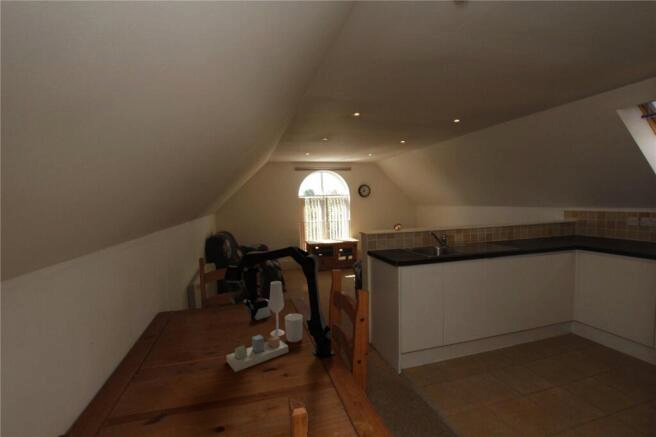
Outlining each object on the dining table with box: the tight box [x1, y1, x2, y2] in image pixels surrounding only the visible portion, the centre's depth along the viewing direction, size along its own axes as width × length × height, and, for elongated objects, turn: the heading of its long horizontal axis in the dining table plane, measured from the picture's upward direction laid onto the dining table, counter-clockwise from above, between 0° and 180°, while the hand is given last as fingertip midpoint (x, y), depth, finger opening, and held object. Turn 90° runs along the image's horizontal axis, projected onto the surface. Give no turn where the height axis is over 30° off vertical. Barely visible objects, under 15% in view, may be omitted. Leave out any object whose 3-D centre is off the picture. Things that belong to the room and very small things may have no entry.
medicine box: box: [254, 298, 271, 321], centre depth 157 cm, size 8×4×9 cm, turn 133°
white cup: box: [284, 313, 304, 343], centre depth 131 cm, size 8×8×10 cm
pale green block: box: [234, 345, 247, 360], centre depth 112 cm, size 3×3×5 cm
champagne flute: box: [269, 280, 286, 337], centre depth 136 cm, size 7×7×24 cm
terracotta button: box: [267, 335, 281, 348], centre depth 120 cm, size 3×3×5 cm
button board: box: [226, 339, 289, 373], centre depth 116 cm, size 9×22×2 cm, turn 128°
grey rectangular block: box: [251, 334, 265, 353], centre depth 116 cm, size 3×3×5 cm
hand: (252, 319), depth 121 cm, fingers closed
